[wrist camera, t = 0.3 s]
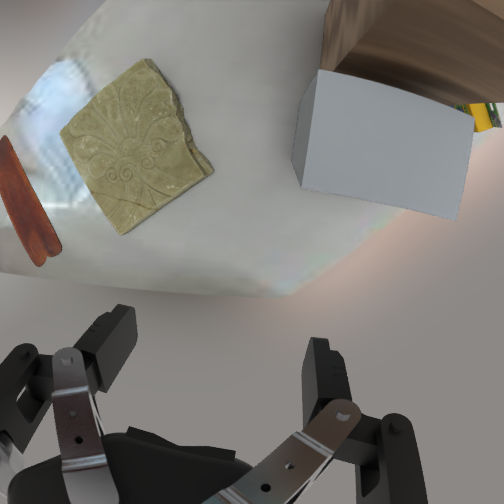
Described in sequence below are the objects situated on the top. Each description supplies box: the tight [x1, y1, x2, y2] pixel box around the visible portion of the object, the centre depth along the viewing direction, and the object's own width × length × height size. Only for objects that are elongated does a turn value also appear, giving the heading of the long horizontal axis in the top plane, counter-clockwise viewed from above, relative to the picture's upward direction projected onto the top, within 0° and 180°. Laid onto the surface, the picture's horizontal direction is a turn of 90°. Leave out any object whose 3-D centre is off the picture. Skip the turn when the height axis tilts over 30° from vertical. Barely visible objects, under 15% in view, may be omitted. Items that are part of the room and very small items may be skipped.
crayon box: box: [449, 103, 502, 132], centre depth 28 cm, size 7×3×12 cm, turn 25°
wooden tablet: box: [0, 135, 62, 267], centre depth 44 cm, size 27×10×2 cm, turn 27°
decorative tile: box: [60, 59, 214, 236], centre depth 39 cm, size 19×20×4 cm
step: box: [291, 69, 475, 221], centre depth 27 cm, size 8×12×21 cm, turn 83°
